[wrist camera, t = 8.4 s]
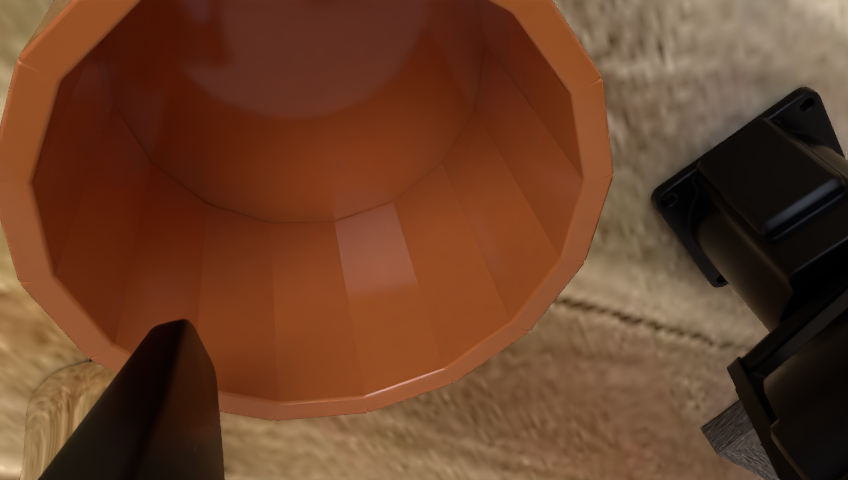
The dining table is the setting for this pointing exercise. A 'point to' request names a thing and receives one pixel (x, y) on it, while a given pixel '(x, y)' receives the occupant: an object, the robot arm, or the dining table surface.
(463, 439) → the dining table surface
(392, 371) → the cup
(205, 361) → the robot arm
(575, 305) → the dining table surface
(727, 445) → the picture frame
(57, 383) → the beer glass
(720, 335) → the dining table surface
